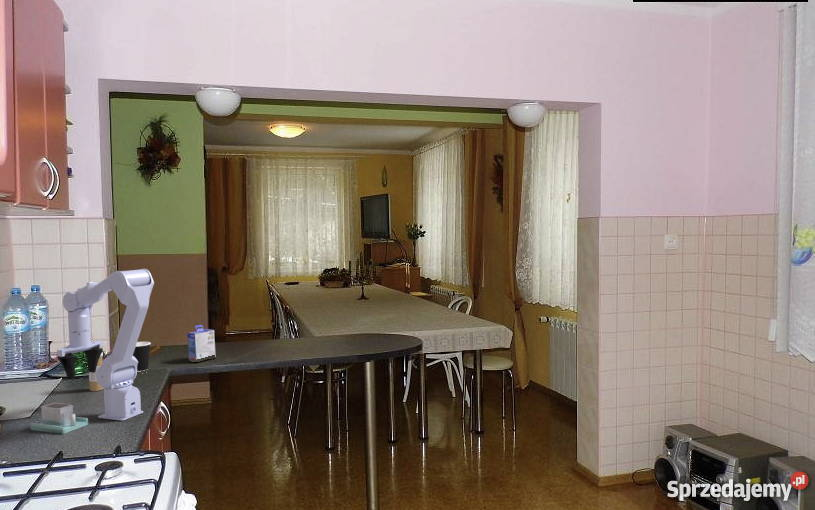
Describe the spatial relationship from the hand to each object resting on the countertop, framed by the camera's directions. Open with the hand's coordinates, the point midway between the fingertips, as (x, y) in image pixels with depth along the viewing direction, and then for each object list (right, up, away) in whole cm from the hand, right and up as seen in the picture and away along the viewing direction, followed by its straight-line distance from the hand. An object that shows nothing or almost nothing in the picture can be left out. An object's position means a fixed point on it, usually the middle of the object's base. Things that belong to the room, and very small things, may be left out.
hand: (81, 375), depth 184 cm
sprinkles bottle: (-7, -10, +22) cm, 25 cm away
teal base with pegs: (+3, -11, -16) cm, 20 cm away
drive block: (+2, -10, -16) cm, 19 cm away
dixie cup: (-2, -8, +46) cm, 47 cm away
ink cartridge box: (+15, -7, +64) cm, 66 cm away
